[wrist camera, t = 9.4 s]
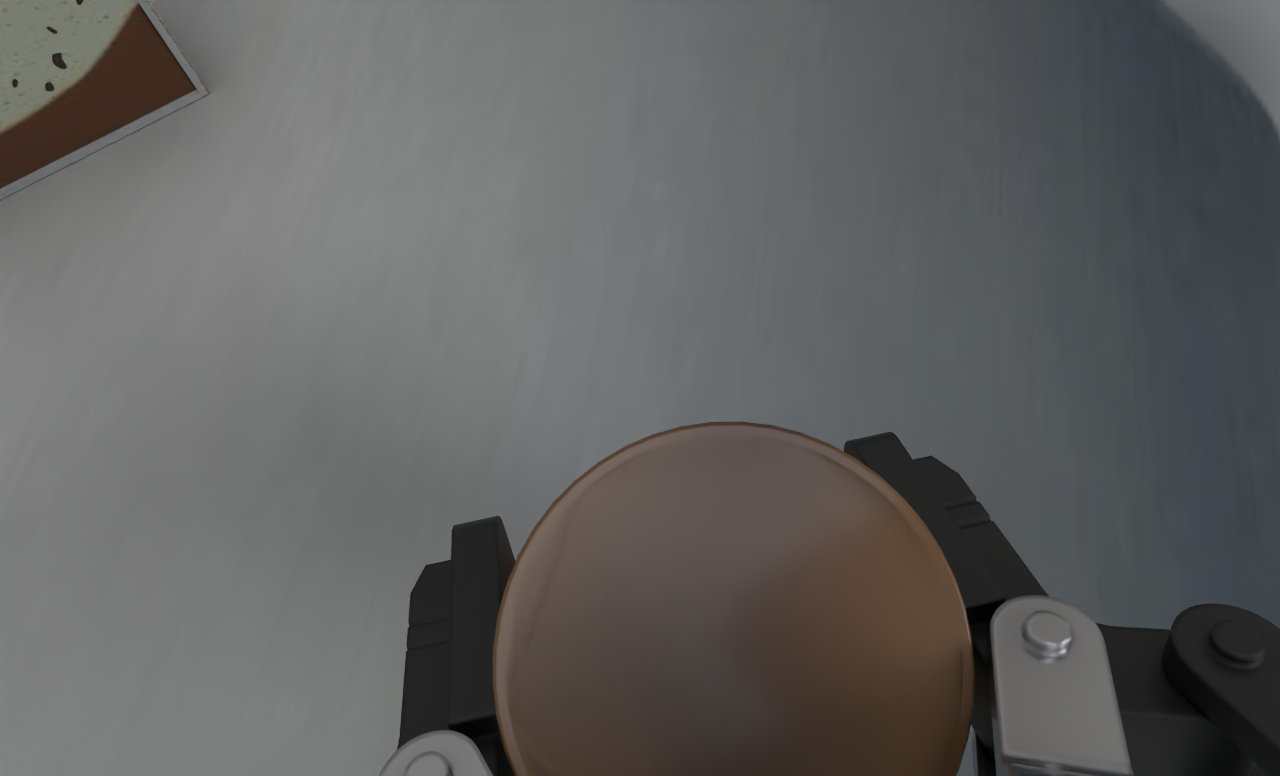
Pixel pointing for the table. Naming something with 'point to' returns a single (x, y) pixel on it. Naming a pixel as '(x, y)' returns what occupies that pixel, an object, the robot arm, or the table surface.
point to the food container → (81, 81)
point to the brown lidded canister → (732, 619)
